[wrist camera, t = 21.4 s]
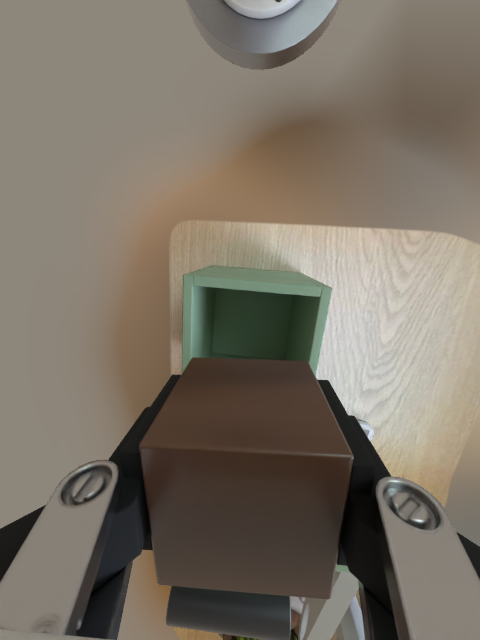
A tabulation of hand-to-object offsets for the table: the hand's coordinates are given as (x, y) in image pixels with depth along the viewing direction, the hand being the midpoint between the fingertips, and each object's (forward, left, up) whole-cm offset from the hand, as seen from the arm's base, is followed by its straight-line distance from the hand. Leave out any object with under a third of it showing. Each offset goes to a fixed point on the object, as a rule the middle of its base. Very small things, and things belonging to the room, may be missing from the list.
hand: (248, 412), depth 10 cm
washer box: (+2, -1, -23) cm, 24 cm away
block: (0, 0, 0) cm, 0 cm away
